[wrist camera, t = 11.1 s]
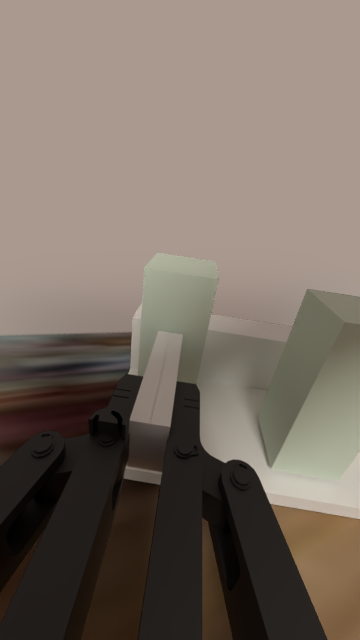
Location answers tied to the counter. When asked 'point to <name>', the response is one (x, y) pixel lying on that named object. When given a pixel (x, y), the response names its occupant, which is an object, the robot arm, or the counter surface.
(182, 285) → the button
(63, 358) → the counter surface
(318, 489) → the button panel
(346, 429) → the middle button
